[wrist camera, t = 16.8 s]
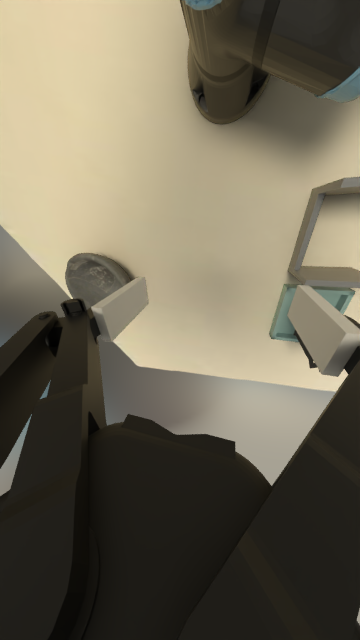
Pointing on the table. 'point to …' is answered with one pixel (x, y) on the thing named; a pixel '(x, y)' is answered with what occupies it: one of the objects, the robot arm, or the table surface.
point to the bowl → (93, 277)
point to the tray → (281, 321)
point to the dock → (308, 273)
